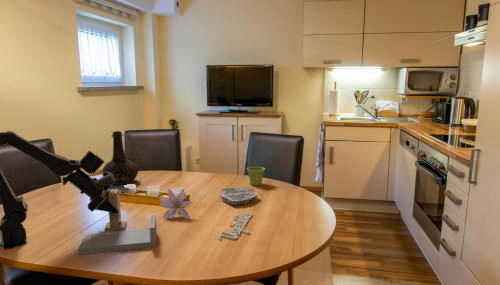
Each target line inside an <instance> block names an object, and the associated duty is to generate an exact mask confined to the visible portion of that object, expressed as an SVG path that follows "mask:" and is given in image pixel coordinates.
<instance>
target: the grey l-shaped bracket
mask: <svg viewBox="0 0 500 285" xmlns="http://www.w3.org/2000/svg"><path fill="white" fill-rule="evenodd" d="M157 234H158V233H157V215H156V214H155V215H152V214H151V215H150V223H149V228H143V229H141V228H140V229H131V230H119V231H107V232H99V233H98V232H97V233H86V234H85V235H84V237H83V239H82V241H81V242H80V244H79V246H78V248H77V253H78V255H79V256H80V255H88V254H97V253H98V254H99V253H108V252H119V251H121V252H122V251H128V250H129V251H130V250H138V249H149V248H156V247H157V246H156V245H157Z"/></svg>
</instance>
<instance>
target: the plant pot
mask: <svg viewBox="0 0 500 285" xmlns="http://www.w3.org/2000/svg"><path fill="white" fill-rule="evenodd" d="M246 170H247V173H248V177H249V184H250V186H254V185H255V187H256V186H257V185H259V186H261V185H262V182H263V176H264V171H265V170H266V168H265V167H262V166H250V167H247V168H246ZM257 187H258V186H257Z"/></svg>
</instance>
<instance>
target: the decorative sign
mask: <svg viewBox="0 0 500 285" xmlns="http://www.w3.org/2000/svg"><path fill="white" fill-rule="evenodd" d="M252 216H253V213H251V212H247V213H246V211H244V212H242V214H241V215H240V214H235V217H233V219H234V220H233V221H232V222H230V228H231V229H230V231H229V232H228V231H225V230H224V229H223V230H221V234H218V237H217V239H218V241H220V240H221V241H222V238H224V239H228V240H234V241H235V240H238V237H240V236H241V234H242V233H243V234H244V235H249V234H250V231H249V230H247V229H245V228H246V226H247V224H248V222H249V221H250V220H251V218H252ZM235 221H236V222H235Z"/></svg>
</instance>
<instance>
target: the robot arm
mask: <svg viewBox="0 0 500 285" xmlns="http://www.w3.org/2000/svg"><path fill="white" fill-rule="evenodd" d="M7 145H9V146H11V147H13V148H14V149H17V150H18V151H20V152H23V153H24V154H26V155H28V156H29V157H32V158H33V159H35V160H36V161H39V162H40V163H41V164H44V166H46V168H48V169H49V170H50V171H51V172H52V173H54V174H55V175H57V176H59V177H61V180H62V185H63V186H65V185H66V184H68V182H69V183H70V184H72V185H73V186H74V187H75V188H77V189H78V190H79V191H80V192H79V193H80V195H83V194H85V195H86V196H87V197H88V198H89V202H88V204H87V209H88V210H89V211H91V213H92V212H94V211H102V212H108V213H109V212H111V213H115V214H117V213H118V210H117V209H116V208H115V207H114V206H113V205H112V204H111V203H110V202H109V200H108V193H109V191H110V190H111V189H113V185H114V184H113V183H114V182H115V178H114V174H112V173H109V172H108V171H106V172H104V173H103V172H102V176H101V177H100V178H96V177H91V176H90V175H88V174H95V173H96V172H97V171H98V170H99V169H100V168H101V166H103V164H104V163H105V160H103V159H102V157H100V156H99V155H98V154H95V153H94V152H92V151H91V150H88V151H87V152H86V154H85V155H84V156H83V157H82V158H81V159H80V160H79V159H69V158H68V157H65V156H62V155H60V154H56V153H52V152H50V151H47V150H45V149H43V148H42V147H41V146H38V145H37V144H35V143H34V142H32V141H29V140H28V139H26V138H24V137H22V136H20V135H19V134H17V133H16V132H15V131H13V130H8V131H7V130H6V131H3V132H0V146H7ZM84 171H85V172H84ZM0 201H1V205H2V209H3V214H4V215H3V216H2V218H1V219H0V246H1V247H2V248H3V249H4V250H9V249H12V248H16V247H19V246H23V245H26V244H27V243H28V242H27V232H26V228H25V227H24V224H23V223H24V221H25V220H26V219H27V217H28V216H27V215H28V208H29V205H28V203H26V201H25V198H24V196H23V195H21V196H19V197H18V196H17V195H16V194H15V193H14V191H13V189H12V186H10V183H9V182H8V180H7V178H6V176H5V175H4V173H3V170H2V169H1V168H0ZM120 207H121V204H120ZM25 222H26V221H25Z"/></svg>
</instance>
